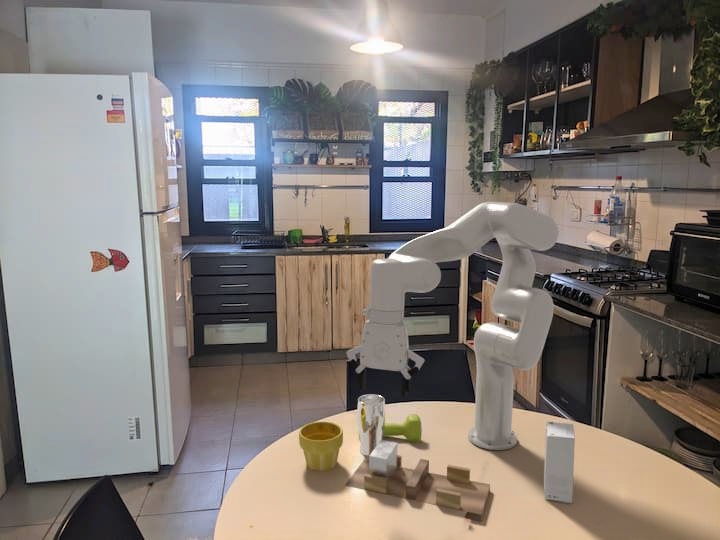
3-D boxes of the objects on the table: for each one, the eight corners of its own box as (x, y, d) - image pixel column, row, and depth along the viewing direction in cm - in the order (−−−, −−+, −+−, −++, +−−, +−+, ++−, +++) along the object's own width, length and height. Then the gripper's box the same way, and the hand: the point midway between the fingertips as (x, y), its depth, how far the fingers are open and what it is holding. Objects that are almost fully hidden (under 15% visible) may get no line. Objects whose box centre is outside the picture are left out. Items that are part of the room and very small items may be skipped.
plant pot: (302, 482, 129) (301, 442, 127) (297, 460, 139) (296, 422, 137) (346, 477, 131) (346, 438, 129) (339, 455, 141) (338, 419, 139)
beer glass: (382, 464, 137) (383, 406, 134) (354, 461, 138) (354, 403, 135) (386, 450, 143) (387, 395, 141) (360, 448, 145) (360, 392, 142)
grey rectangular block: (380, 467, 132) (381, 439, 131) (397, 470, 131) (397, 442, 130) (369, 485, 125) (369, 455, 124) (386, 488, 123) (386, 459, 122)
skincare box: (572, 504, 120) (577, 439, 118) (542, 499, 122) (546, 435, 119) (570, 484, 128) (574, 423, 126) (542, 479, 130) (546, 419, 127)
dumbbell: (358, 449, 144) (358, 423, 143) (358, 435, 152) (358, 410, 151) (422, 449, 144) (423, 423, 143) (419, 435, 152) (420, 410, 151)
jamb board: (363, 465, 136) (364, 448, 135) (489, 490, 125) (490, 472, 125) (344, 491, 125) (344, 472, 124) (481, 521, 114) (481, 501, 114)
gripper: (343, 316, 121) (340, 392, 123) (422, 324, 116) (419, 403, 118) (353, 309, 128) (351, 381, 130) (428, 316, 123) (425, 391, 126)
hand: (383, 391), depth 124 cm, fingers open, 9 cm apart
